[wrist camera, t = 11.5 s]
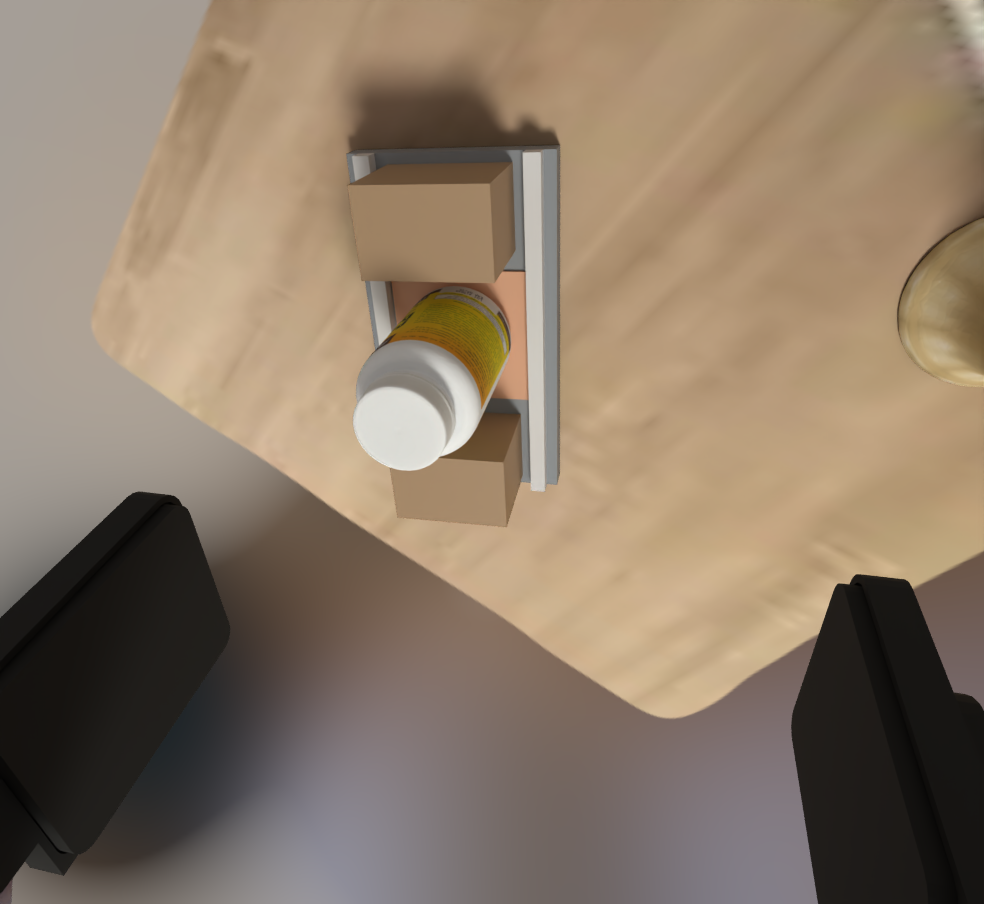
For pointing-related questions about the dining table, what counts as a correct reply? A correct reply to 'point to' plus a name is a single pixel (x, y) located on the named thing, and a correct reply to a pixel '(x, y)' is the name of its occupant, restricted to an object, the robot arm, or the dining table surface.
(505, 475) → the rail
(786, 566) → the dining table surface
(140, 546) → the robot arm
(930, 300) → the hand bell
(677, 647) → the dining table surface
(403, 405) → the supplement bottle
